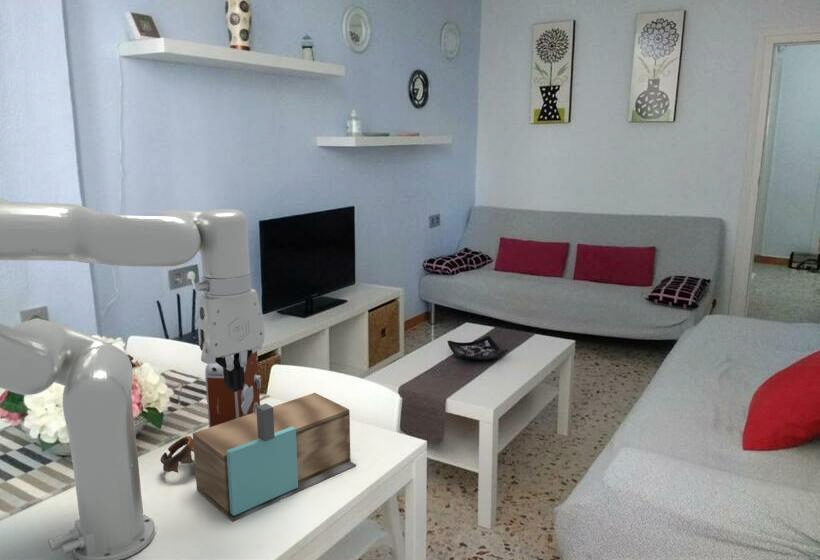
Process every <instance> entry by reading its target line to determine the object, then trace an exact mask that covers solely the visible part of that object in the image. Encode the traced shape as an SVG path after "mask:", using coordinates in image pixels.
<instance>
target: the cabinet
mask: <svg viewBox="0 0 820 560" xmlns="http://www.w3.org/2000/svg"><path fill="white" fill-rule="evenodd" d="M272 407H273V414H274V433H276V432H278V431H281V430H284V429H287V428H289V427H294V428H296V444H297V470H298V488H295V489H293V490H291V491H289V492H286V493H284V494H282V495H280V496H277V497H275V498H273V499H271V500H268V501H266V502H264V503H262V504H259V505H257V506H255V507H253V508H250V509H248V510H246V511H244V512H241V513H239V514H237V515H235V516H233V515H232V514H231V513H230V498H229V483H228V468H227V452H226V450H229V449H232V448H234V447H237V446H240V445H243V444H245V443H248V442H251V441H254V440H256V439H259V438H258V429H257V412H255V413H252V414H249V415H246V416H243V417H240V418H237V419H234V420H231V421H228V422H225V423H222V424H219V425H215V426H212V427H209V426H208V428H207V427H206V428H204V429H201V430H198V431H194V432H192V439H193V446H194V452H193V457H194V470H195V482H196V492H198V493H199V494H200V495H201V496H202V497H204V498H205V499H206V500H207V501H208V502H210V503H211V505H213V506H214V507H215V508H216V509H217V510H219V512H221V513H222V514H223V515H225V516H226V517H227V518H228V519H229V520H230V521H232V522H235V521H237V520H240V519H241V518H244V517H246V516H247V515H250V514H253V513H255V512H257V511H259V510H262V509H264V508H266V507H268V506H271V505H274V504H275V503H277V502H279V501H281V500H284V499H286V498H288V497H290V496H293V495H295V494H298V493H299V492H300V493H301V492H302V491H304V490H306V489H308V488H311V487H313V486H315V485H317V484H320V483H322V482H324V481H326V480H328V479H330V478H333V477H335V476H337V475H339V474H342V473H344V472H346V471H348V470H351V469H353V468H355V467H357V464H356V463H354V462H352V460H351V423H350V421H351V418H350V415H351V414H350V409H349V408H347V407H346V406H344V405H341V404H339V403H337V402H335V401H333V400H331V399H329V398H327V397H324V396H323V395H320V394H318V393H316V392H313V393H310V394H306V395H304V396H301V397H298V398H297V397H296V398H293V399H291V400H289V401H286V402H282V403H279V404H277V405H276V404H275V405H273V406H272Z"/></svg>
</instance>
